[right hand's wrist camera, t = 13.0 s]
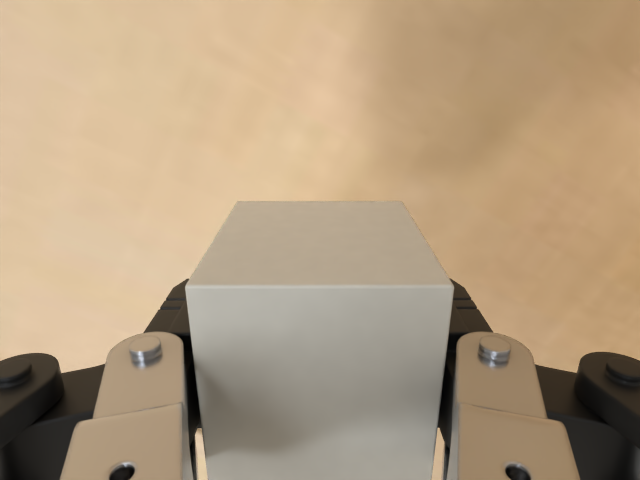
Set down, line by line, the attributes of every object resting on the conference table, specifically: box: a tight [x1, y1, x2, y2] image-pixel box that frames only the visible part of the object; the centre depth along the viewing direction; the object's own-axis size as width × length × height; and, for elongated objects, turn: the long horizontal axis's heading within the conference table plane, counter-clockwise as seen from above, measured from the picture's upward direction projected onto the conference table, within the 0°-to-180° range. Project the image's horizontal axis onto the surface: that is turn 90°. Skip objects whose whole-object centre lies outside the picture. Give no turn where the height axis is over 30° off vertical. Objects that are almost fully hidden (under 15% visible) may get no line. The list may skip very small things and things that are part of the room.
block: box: [185, 201, 454, 480], centre depth 10 cm, size 5×4×5 cm
